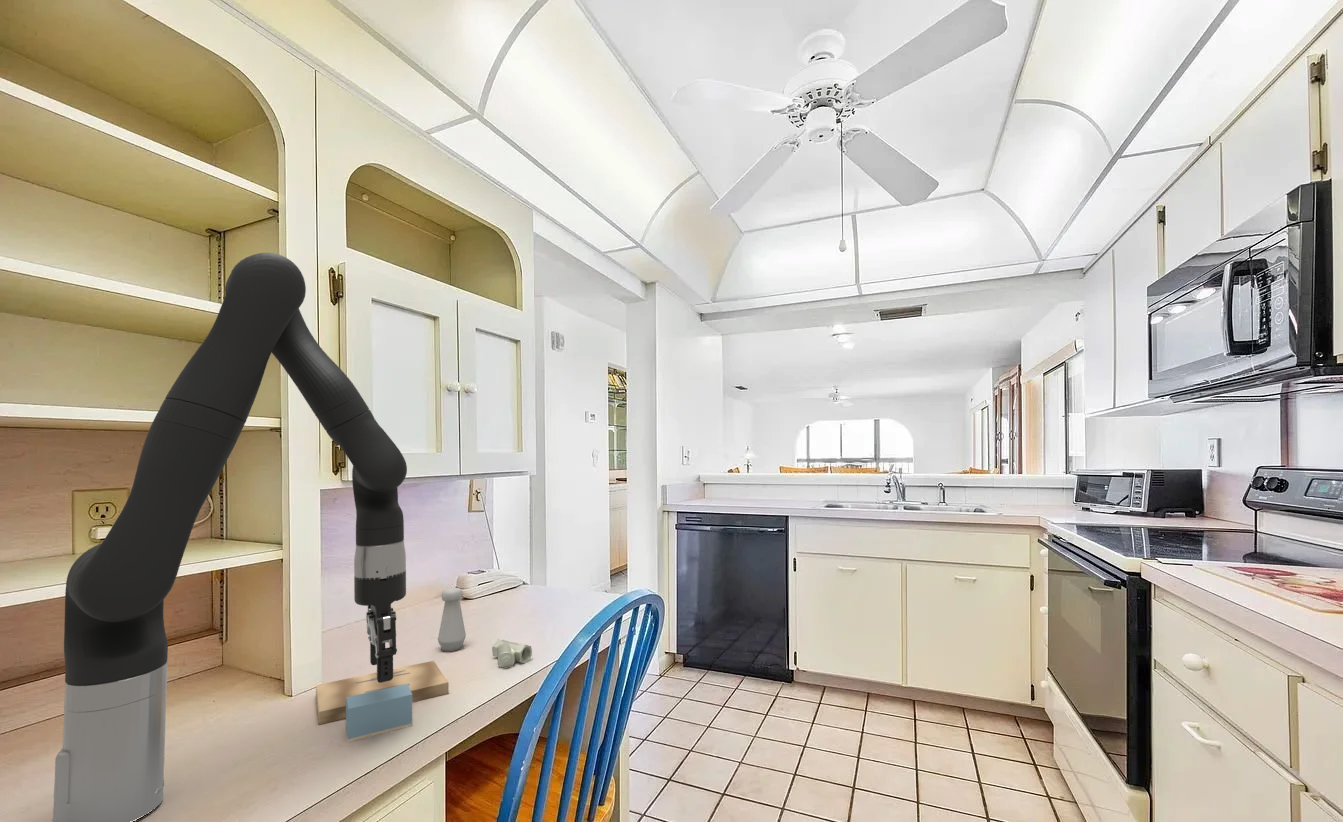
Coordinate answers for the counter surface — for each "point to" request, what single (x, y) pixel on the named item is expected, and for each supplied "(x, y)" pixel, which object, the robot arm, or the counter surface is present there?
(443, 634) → the salt shaker
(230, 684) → the counter surface
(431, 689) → the oak board
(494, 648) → the pipe fitting
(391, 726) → the block
